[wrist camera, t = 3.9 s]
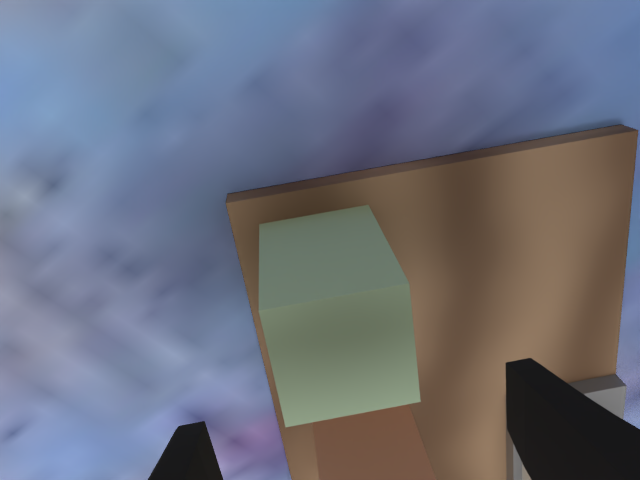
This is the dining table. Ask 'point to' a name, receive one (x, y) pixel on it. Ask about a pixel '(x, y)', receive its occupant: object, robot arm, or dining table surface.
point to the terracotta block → (371, 447)
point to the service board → (479, 276)
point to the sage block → (335, 316)
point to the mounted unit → (599, 390)
